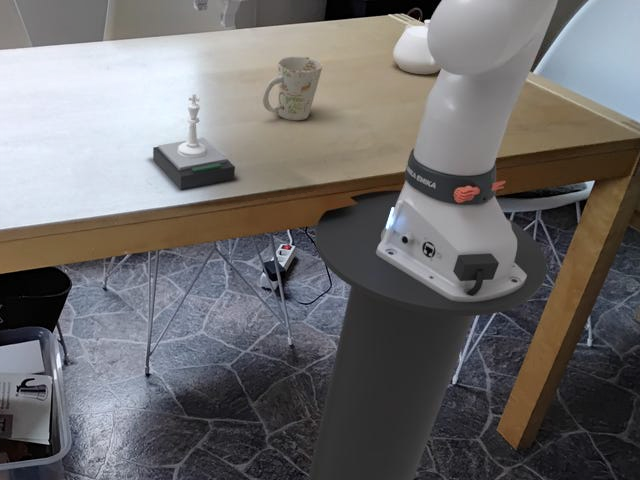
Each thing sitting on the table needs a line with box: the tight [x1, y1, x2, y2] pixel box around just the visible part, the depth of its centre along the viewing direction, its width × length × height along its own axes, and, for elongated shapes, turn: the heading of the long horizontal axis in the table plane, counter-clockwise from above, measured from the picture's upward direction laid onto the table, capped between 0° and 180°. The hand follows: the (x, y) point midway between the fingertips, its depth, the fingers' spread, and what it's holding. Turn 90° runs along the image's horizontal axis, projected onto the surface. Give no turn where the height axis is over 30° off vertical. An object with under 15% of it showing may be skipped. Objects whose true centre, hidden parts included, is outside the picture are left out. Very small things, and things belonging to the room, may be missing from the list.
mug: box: [262, 56, 323, 121], centre depth 141 cm, size 8×13×10 cm, turn 125°
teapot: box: [392, 19, 441, 75], centre depth 163 cm, size 20×12×10 cm, turn 10°
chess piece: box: [178, 93, 206, 158], centre depth 122 cm, size 5×5×10 cm
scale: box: [152, 137, 236, 191], centre depth 126 cm, size 12×10×3 cm
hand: (213, 17), depth 115 cm, fingers open, 8 cm apart
